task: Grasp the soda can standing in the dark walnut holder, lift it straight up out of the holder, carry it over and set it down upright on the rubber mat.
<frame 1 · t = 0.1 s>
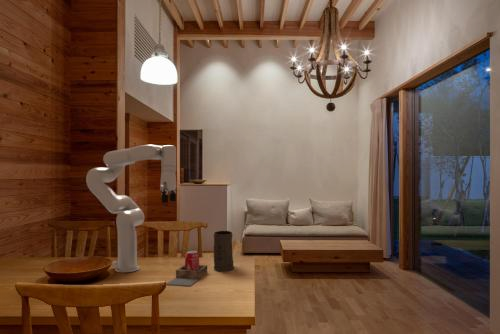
hand: (169, 201, 193), 37 cm above the table, tool pointing down, fingers open, 9 cm apart
soda can: (192, 276, 187), resting in holder
mat: (182, 282, 175), on the table
holder: (192, 275, 187), on the table
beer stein: (224, 268, 201), on the table
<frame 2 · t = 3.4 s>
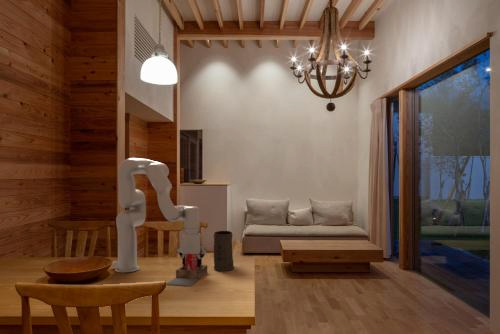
hand: (192, 266, 187), 5 cm above the table, tool pointing down, fingers closed on soda can, 7 cm apart
soda can: (192, 276, 187), resting in holder, touching gripper
everything else where it was.
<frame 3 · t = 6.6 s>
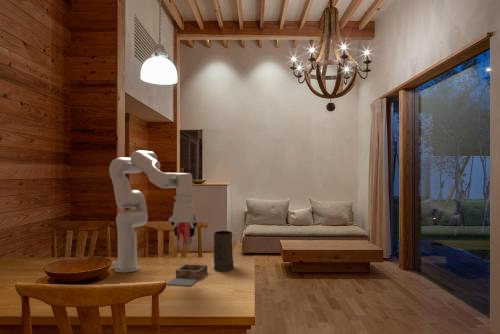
hand: (184, 235, 178), 22 cm above the table, tool pointing down, fingers closed on soda can, 7 cm apart
soda can: (184, 246, 178), point 17 cm above the table, touching gripper
everything else where it was.
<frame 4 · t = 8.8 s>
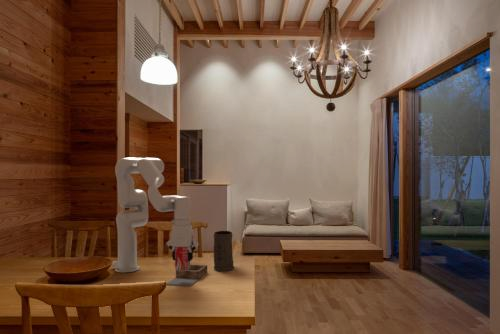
hand: (182, 259, 175), 11 cm above the table, tool pointing down, fingers closed on soda can, 7 cm apart
soda can: (182, 270, 175), point 6 cm above the table, touching gripper
everything else where it was.
when the fingers open (7 cm above the table, at t = 10.2 s): soda can drops 1 cm, resting on mat.
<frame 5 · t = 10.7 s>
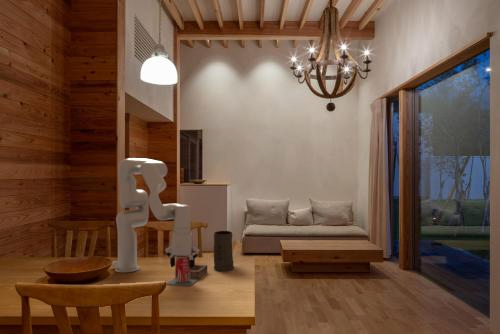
hand: (182, 267, 175), 7 cm above the table, tool pointing down, fingers open, 9 cm apart
soda can: (182, 281, 175), resting on mat
everything else where it was.
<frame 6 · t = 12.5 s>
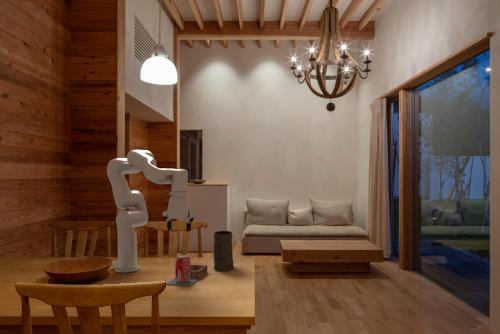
hand: (178, 230, 178), 24 cm above the table, tool pointing down, fingers open, 9 cm apart
nothing on the table moved.
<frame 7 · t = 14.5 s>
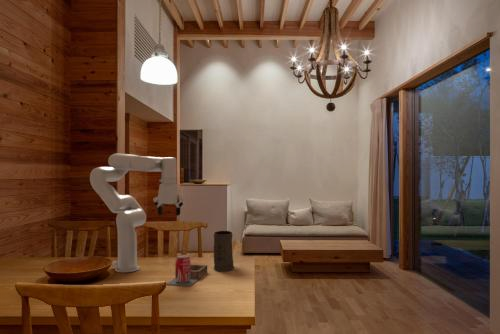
hand: (169, 215, 189), 30 cm above the table, tool pointing down, fingers open, 9 cm apart
nothing on the table moved.
at the end: soda can inside the target area on the mat (0.2 cm from its centre), point 0.3 cm above the mat's base; soda can tilted 0°; the gripper is holding nothing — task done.
